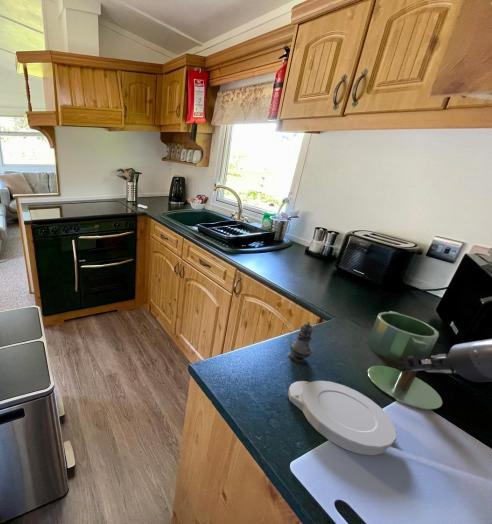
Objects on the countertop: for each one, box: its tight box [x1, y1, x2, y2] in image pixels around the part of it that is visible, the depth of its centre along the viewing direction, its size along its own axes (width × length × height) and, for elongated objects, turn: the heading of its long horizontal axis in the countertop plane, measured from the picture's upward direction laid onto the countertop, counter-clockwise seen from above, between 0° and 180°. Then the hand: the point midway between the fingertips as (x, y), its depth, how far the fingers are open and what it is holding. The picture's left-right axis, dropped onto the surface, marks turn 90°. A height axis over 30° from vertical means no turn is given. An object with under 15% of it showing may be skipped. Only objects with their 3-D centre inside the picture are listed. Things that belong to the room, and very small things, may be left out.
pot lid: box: [367, 356, 443, 411], centre depth 72 cm, size 15×15×9 cm
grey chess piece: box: [287, 321, 314, 365], centre depth 81 cm, size 6×6×12 cm
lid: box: [287, 380, 397, 456], centre depth 64 cm, size 17×20×3 cm
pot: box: [366, 310, 440, 364], centre depth 86 cm, size 14×19×10 cm
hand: (416, 367), depth 70 cm, fingers open, 8 cm apart
